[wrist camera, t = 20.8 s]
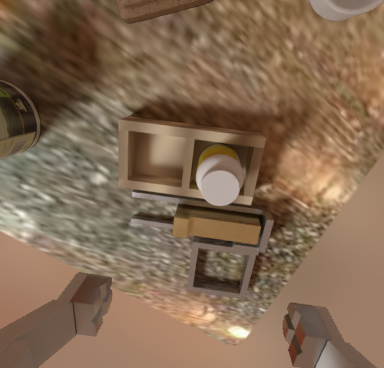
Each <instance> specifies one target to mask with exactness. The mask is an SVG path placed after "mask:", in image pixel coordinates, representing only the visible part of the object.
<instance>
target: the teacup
mask: <svg viewBox="0 0 384 368" xmlns="http://www.w3.org/2000/svg"><path fill="white" fill-rule="evenodd" d="M309 1H310V4H311V6H312V8H313V9H314V11H315V12H316V13H317V14H318V15H320V16H321V17H323V18H325V19H328V20H332V21H342V20H346V19H349V18H351V17H354V16H358V15H361V14H364V13H366V12H369V11H371V10H373V9H374V8H376V7H377V6H379V5H380V4H381V3H383V2H384V0H309Z"/></svg>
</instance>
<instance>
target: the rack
mask: <svg viewBox="0 0 384 368" xmlns="http://www.w3.org/2000/svg"><path fill="white" fill-rule="evenodd" d="M265 142H266V137H264V136H263V135H262V134H261V133H259V132H251V131H243V130H235V129H227V128H219V127H211V126H203V125H196V124H188V123H180V122H172V121H164V120H156V119H148V118H140V117H133V116H128V117H125V118H122V119H119V187H122V188H129V189H136V190H143V191H151V192H158V193H165V194H172V195H180V196H187V197H194V198H202V199H204V197H203V195H202V193H201V191H200V190H199V188H198V186H197V182H196V172H197V167H198V162H199V157H200V155H201V153H202V151H203V150H204V149H205V148H206V147H207V146H209V145H210V144H213V143H225V144H228V145H230V146H231V147H232V148H233V149H234V150H235V151H236V153H237V155H238V158H239V161H240V164H241V167H242V169H243V174H244V182H243V185H242V187H241V189H240V192H239V195H238V197H237V198H236V199H235V200H234V201H233V202H232V203H238V204H245V205H251V203H252V199H253V195H254V190H255V186H256V182H257V177H258V173H259V168H260V164H261V160H262V155H263V151H264V147H265Z"/></svg>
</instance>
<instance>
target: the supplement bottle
mask: <svg viewBox="0 0 384 368" xmlns="http://www.w3.org/2000/svg"><path fill="white" fill-rule="evenodd" d="M196 182H197V186H198V188H199V190H200V191H201V193H202V195H203V197H204V199H205V200H206V201H207V202H209V203H210V204H213V205H216V206H224V205H228V204H230V203H232V202H233V201H234V200H235V199H236V198H237V197H238V195H239V192H240V189H241V187H242V185H243V182H244V174H243V169H242V167H241V164H240V161H239V158H238V155H237V153H236V151H235V150H234V149H233V148H232V147H231V146H230V145H228V144H225V143H213V144H210V145H209V146H207V147H206V148H205V149H204V150H203V151H202V153H201V155H200V157H199V162H198V167H197V172H196Z"/></svg>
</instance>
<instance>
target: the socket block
mask: <svg viewBox="0 0 384 368" xmlns="http://www.w3.org/2000/svg"><path fill="white" fill-rule="evenodd" d="M132 197H137V198H144V199H152V200H159V201H166V202H173V203H180V204H188V205H195V206H202V207H209V208H217V209H224V210H231V211H238V212H245V213H253V214H259V217H258V219H259V222H260V225H261V230H260V233H259V237H258V241H257V245H256V244H249V243H242V242H235V241H228V240H221V239H214V238H207V237H200V236H194V238H193V245H192V252H191V260H190V267H189V274H188V282H187V289H186V291H193V292H200V293H206V294H213V295H219V296H226V297H233V298H239V299H245V296H246V292H247V289H248V285H249V281H250V277H251V273H252V269H253V266H254V262H255V258H256V255H259V252H262V253H265V252H266V248H267V244H268V241H269V237H270V234H271V230H272V226H273V223H274V219H273V217H272V215H271V213H270V211H269V209H268V207H263V206H256V205H245V204H238V203H230V204H228V205H224V206H216V205H213V204H210V203H209V202H207V201H206V200H205V199H202V198H194V197H187V196H180V195H172V194H165V193H158V192H151V191H143V190H136V189H134V190H133V192H132ZM132 223H135V224H142V225H149V226H156V227H163V228H170V229H173V226H174V221H173V220H166V219H159V218H152V217H145V216H138V215H134V216H133V217H132ZM198 248H201V249H208V250H215V251H222V252H229V253H236V254H243V255H246V257H245V261H244V265H243V269H242V274H241V278H240V282H239V285H235V284H229V283H222V282H215V281H208V280H202V279H195V278H194V275H195V269H196V262H197V255H198Z"/></svg>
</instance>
